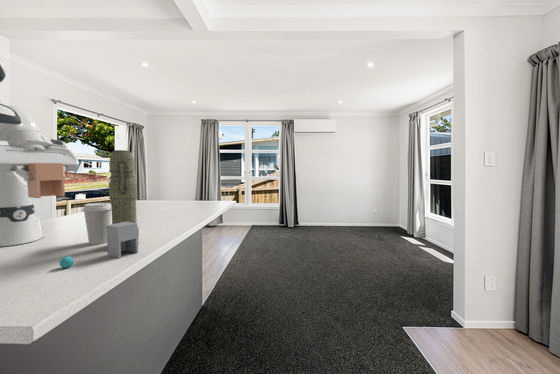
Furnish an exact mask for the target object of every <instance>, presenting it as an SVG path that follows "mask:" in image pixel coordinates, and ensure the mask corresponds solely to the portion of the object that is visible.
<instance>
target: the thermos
mask: <svg viewBox="0 0 560 374" xmlns="http://www.w3.org/2000/svg"><path fill="white" fill-rule="evenodd" d="M109 157H110V158H109V173H110V180H109V182H108V194H109V196H108V197H109V198H108V199H109V200H110V205H111V224H115V223H121V222H131V223H137V224H138V222H137V198H138V189H137V188H138V186H137V184H138V183H137V182H136V179H135V174H134V173H135V160H134V159H135V157H134V156H133V153H132V151H130V150H124V149H123V150H121V149H119V150H117V149H116V150H114V151H111V154H110V156H109ZM137 231H138V238H139V235H140V233H139V232H140V231H139V227H138V226H137ZM138 244H139V241H138Z"/></svg>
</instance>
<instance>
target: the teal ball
mask: <svg viewBox="0 0 560 374" xmlns="http://www.w3.org/2000/svg"><path fill="white" fill-rule="evenodd" d="M74 262H75V261H74V258H73V257H72V256H69V255H67V256H63V257H62V258H61V259H60V260H59V266H60V267H61V268H64V269H68V268H71V267H72V266H73V265H74Z"/></svg>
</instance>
